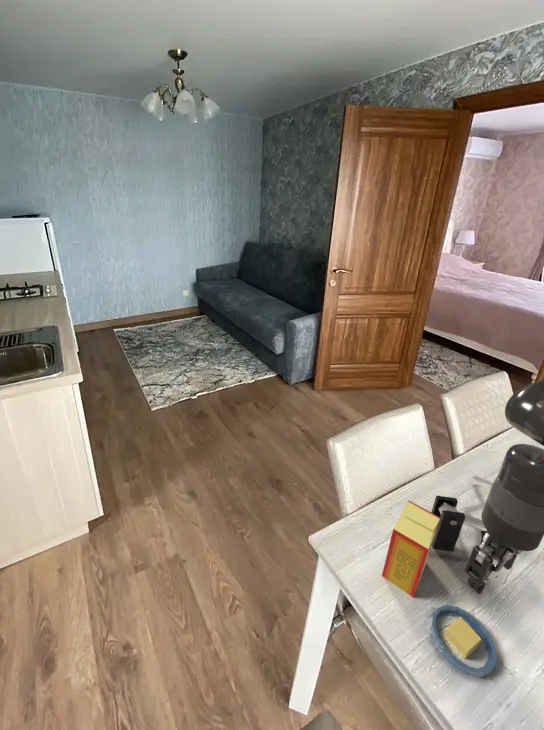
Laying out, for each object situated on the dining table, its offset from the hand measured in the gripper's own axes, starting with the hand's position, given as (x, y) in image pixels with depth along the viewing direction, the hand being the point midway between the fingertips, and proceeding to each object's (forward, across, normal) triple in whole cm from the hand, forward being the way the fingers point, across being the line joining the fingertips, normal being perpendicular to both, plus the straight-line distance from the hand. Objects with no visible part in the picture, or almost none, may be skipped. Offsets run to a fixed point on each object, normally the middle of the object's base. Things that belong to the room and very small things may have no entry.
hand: (489, 576), depth 59 cm
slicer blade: (+10, +16, +11) cm, 22 cm away
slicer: (+18, +13, +14) cm, 26 cm away
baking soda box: (+18, -1, +13) cm, 22 cm away
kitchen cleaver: (+18, +27, +12) cm, 35 cm away
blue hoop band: (+18, -2, 0) cm, 18 cm away
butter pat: (+17, -2, 0) cm, 17 cm away
